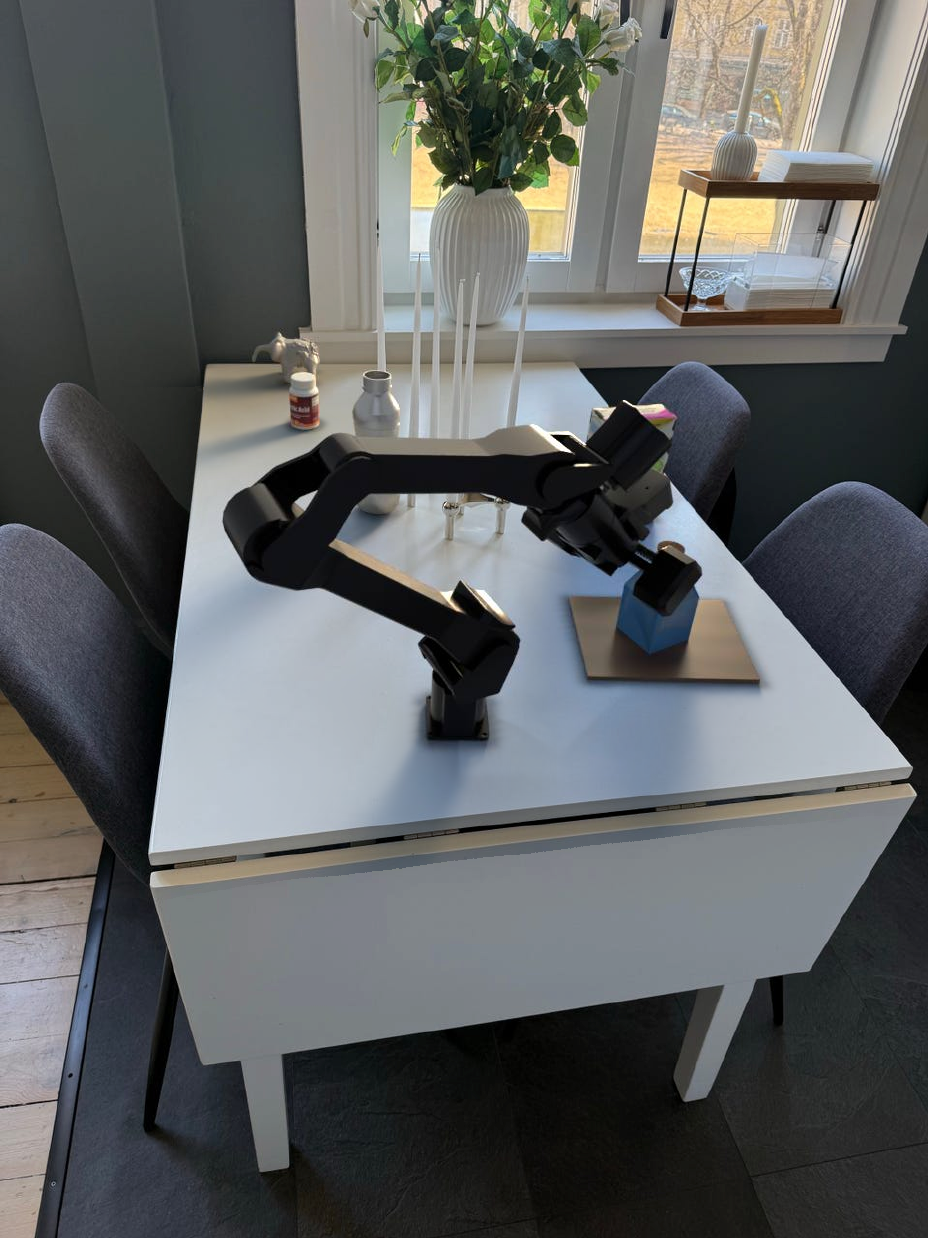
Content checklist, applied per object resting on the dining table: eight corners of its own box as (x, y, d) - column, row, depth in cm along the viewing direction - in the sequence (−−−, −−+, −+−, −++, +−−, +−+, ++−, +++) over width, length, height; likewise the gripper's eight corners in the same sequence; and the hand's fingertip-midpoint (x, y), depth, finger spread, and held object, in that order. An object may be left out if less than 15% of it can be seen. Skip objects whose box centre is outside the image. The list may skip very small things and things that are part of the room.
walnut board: (759, 683, 105) (760, 679, 104) (586, 680, 103) (587, 676, 103) (721, 603, 118) (722, 599, 117) (567, 599, 116) (568, 595, 116)
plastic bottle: (393, 522, 129) (395, 387, 118) (347, 515, 130) (345, 380, 118) (405, 501, 134) (408, 369, 123) (360, 494, 135) (359, 363, 124)
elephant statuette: (327, 384, 169) (326, 343, 164) (263, 391, 164) (260, 349, 160) (312, 366, 175) (310, 326, 171) (250, 373, 171) (247, 332, 166)
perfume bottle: (654, 612, 114) (673, 529, 107) (688, 639, 110) (710, 554, 103) (616, 626, 111) (632, 541, 104) (649, 654, 107) (669, 567, 100)
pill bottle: (286, 427, 153) (283, 379, 148) (298, 416, 156) (296, 369, 151) (312, 432, 152) (310, 383, 147) (324, 421, 155) (322, 373, 150)
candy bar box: (587, 528, 131) (604, 421, 122) (573, 511, 135) (589, 406, 125) (656, 520, 134) (679, 415, 125) (641, 504, 138) (661, 401, 129)
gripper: (711, 491, 83) (756, 560, 96) (572, 417, 95) (628, 487, 107) (636, 588, 84) (691, 644, 96) (507, 503, 95) (570, 563, 108)
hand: (644, 579), depth 102 cm, fingers open, 9 cm apart
